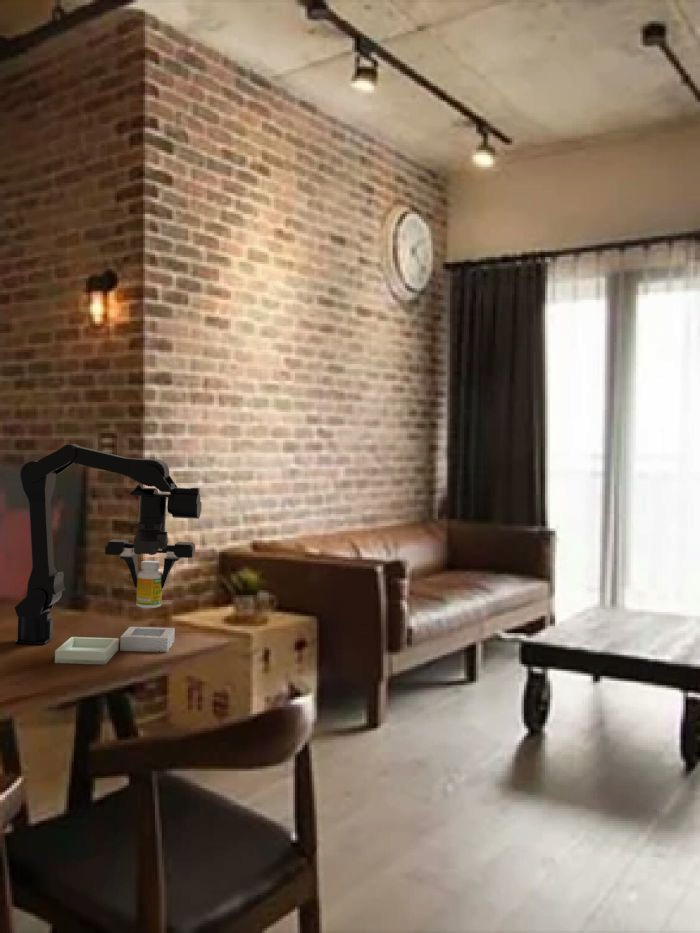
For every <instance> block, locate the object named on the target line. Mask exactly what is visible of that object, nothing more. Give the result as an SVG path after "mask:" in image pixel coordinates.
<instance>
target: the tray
mask: <svg viewBox="0 0 700 933" xmlns="http://www.w3.org/2000/svg"><path fill="white" fill-rule="evenodd" d="M119 640H120V639H119V638H116V637H114V638H113V637H85V636H84V637H81V636H79V637H78V636H71V637H70V638H69V639H67V640H66V641H65V642H63V643H62V644H61V645H60V646H59V647H57V649H55V651H54V653H55V654H54V663H55V664H73V665H74V664H78V665H79V664H80V665H106V664H107V663H108V662H109V661H110V660H111V659H112V657H114V655H115V654H117V652H118V651H119V644H120V641H119Z"/></svg>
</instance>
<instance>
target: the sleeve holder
mask: <svg viewBox="0 0 700 933" xmlns="http://www.w3.org/2000/svg"><path fill="white" fill-rule="evenodd" d="M175 632H176V630H175V627H154V626H129V627H128V628H127V629H126V630H125V631H124V632H123V633H122V635H120V639H119V640H120V641H119V644H120V646H119V648H120V649H119V650H120V652H121V651H123V652H149V653H150V652H152V653H153V652H154V653H168V652H169V650H170V649H169V648H171V647H172V646H173V644H174V643H175V635H176V634H175ZM172 643H173V644H172ZM159 651H160V652H159Z"/></svg>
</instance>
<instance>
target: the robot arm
mask: <svg viewBox="0 0 700 933" xmlns="http://www.w3.org/2000/svg"><path fill="white" fill-rule="evenodd" d="M73 464H76V465H77V464H78V465H81V466H85V467H90V468H94V469H98V470H103V471H107V472H110V473H111V472H112V473H115V474H119V475H122V476H124V477H127V478H128V479H131V480H133V481H135V482H137V483H139V484H137V486H136V487H135V488H134V489H133V490H132V491H130V493H129V494H130V496H134V497H135V496H136V497H139V502H138V503H139V506H138V508H139V509H138V525H137V530H136V533H135V536H134V538H133V543H131V542H130V541H129V539H119V538H117V539H116V538H113V539H110V540H108V542H106V543H105V548H104V554H105V555H108V556H119V559H120V560H123V561H125V563H126V565H127V567H128V569H129V572H130V576H131V580H132V582H133V586H134V587H135V588H137V575H138V573H139V559H138V558H139V557H138V556H139V555H149V556H154V555H157V554H166V556H165V557H164V559H163V560H164V561H163V571H162V582H161V588H162V589H164V588H165V586H166V582H167V581H168V578H169V575H170V573H171V571H172V568H173V566H174V565H175V562H179V561H180V560H181V559H182V558H185V559H191V558H193V557H194V556H195V555H196V544H195V543H194V542H189V541H177V542H175V544H168V542H169V539H168V538H169V536H168V532H167V531H166V514H167V513H168V514H169V515H171V517H172V518H173V519H174V518H175V519H191V520H193V519H195V520H199V519H200V516H201V512H202V501H201V493H200V490H201V489H200V487H178V485H177V484H176V483H175V481H174V480H173V479H172V477H171V476H170V468H169V466H168V464H167V463H166V462H165V461H164V460H161V459H155V458H153V459H152V458H136V457H135V458H134V457H127V456H126V457H125V456H122V455H117V454H112V453H108V452H105V451H100V450H96V449H94V448H93V449H92V448H88V447H83V446H81V445H79V444H75V443H69V444H65V445H63V446H62V447H61V448H58V449H57V450H55V451H53V452H52V453H50V454H48V455H45V456H44V457H42V458H41V459H38V460H31V461H28V462H26V463H24V465H23V466H22V467H21V468H20V471H19V477H20V481H21V486H22V491H23V493H24V494H25V497H26V499H27V502H28V506H29V511H28V512H29V525H30V526H29V527H30V530H29V531H30V547H31V571H30V574H29V576H28V580H27V588H26V594H25V597H24V598H23V599H22V600H21V601H20V602H19V603H18V604H17V605H15V606H14V610H15V613H16V616H17V638H16V640H14V644H27V645H29V644H30V645H31V644H32V645H33V644H34V645H45V644H47V643H48V642H49V641H50V640H52V639H53V638H54V637H53V636H54V619H53V618H52V611H51V610H53V607H54V606H55V603H57V602H58V601H59V600H60V599H61V598H62V595H63V591H65V590H66V587H65V584H64V577H65V572H64V571H60V572H58V570H57V569H56V566H55V564H54V543H53V525H52V524H53V523H52V520H53V519H52V498H53V494H54V491H55V489H56V481H57V480H56V479H57V476H58V475H59V474H61V473H62V472H64V471H65V470H67V469H68V468H69V467H70V466H72V465H73ZM143 485H144V486H147V487H149V488H146V487H144V486H143ZM150 487H152V488H150ZM153 487H154V488H153ZM158 491H159V492H158ZM160 492H162V493H160ZM129 542H130V543H129Z"/></svg>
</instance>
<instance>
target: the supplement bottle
mask: <svg viewBox="0 0 700 933" xmlns="http://www.w3.org/2000/svg"><path fill="white" fill-rule="evenodd" d="M160 565H161V563H160V561H157V560H143V561H141V562H140V569H141V570H140V571H138V575H137V587H136V599H135V600H136V603H135V604H136V607H138V608H143V609H145V608H146V609H153V608H159V607H161V606H162V601H163V600H162V599H163V598H162V595H163V588H161V582H162V575H163V572H161V571H160V570H159V569H160Z"/></svg>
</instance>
